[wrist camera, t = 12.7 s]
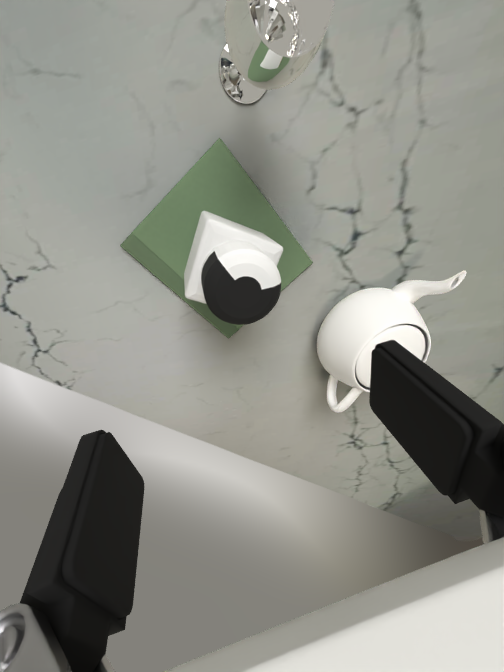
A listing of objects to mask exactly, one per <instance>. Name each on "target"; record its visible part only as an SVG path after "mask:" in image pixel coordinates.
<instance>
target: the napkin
mask: <svg viewBox="0 0 504 672" xmlns="http://www.w3.org/2000/svg"><path fill="white" fill-rule="evenodd" d="M202 211H207V212H210V213H212V214H215V215H217V216H220V217H223V218H225V219H228V220H230V221H233V222H235V223H238V224H241V225H243V226H246V227H248V228H251V229H253V230H256V231H259V232H261V233H263V234H265V235H266V236H268V237H269V238H271V239H272V240H274V241H275V242H276V243H278V244H279V245H281V246H282V247H283V252H282V255H281V257H280V259H279V262H278V264H277V269H278V271H279V274H280V277H281V291H282V290H283V289H284V288H285V287H286V286H287V285H288V284H289V283H291V282H292V281H293V280H294V279H295V278H296V277H297V276H298V275H300V274H301V273H302V272H303V271H304V270H305V269H306V268H307V267H308V266H310V265H311V264H312V263H313V262H312V261H311V259H310V258H309V257H308V255H307V254H306V253H305V251H304V250H303V249H302V247H301V246H300V245H299V243H298V242H297V241H296V239H295V238H294V237H293V235H292V234H291V233H290V231H289V230H288V229H287V227H286V226H285V225H284V223H283V222H282V221H281V219H280V218H279V216H278V215H277V214H276V212H275V211H274V210H273V208H272V207H271V206H270V204H269V203H268V202H267V200H266V199H265V198H264V196H263V195H262V194H261V192H260V191H259V190H258V188H257V187H256V186H255V184H254V183H253V182H252V180H251V179H250V178H249V176H248V175H247V174H246V172H245V171H244V170H243V168H242V167H241V166H240V164H239V163H238V161H237V160H236V159H235V157H234V156H233V155H232V153H231V152H230V151H229V149H228V148H227V147H226V145H225V144H224V143H223V141H222V140H221V139H220V138H219V139H218V140H217V141H216V142H215V143H214V144H213V146H212V147H211V148H210V149H209V150H208V151H207V152H206V153H205V154H204V155H203V156H202V157H201V159H200V160H199V161H198V162H197V163H196V164H195V165H194V166H193V167H192V168H191V169H190V170H189V172H188V173H187V174H186V175H185V176H184V177H183V178H182V179H181V180H180V181H179V182H178V183H177V185H176V186H175V187H174V188H173V189H172V190H171V191H170V192H169V193H168V194H167V195H166V196H165V198H164V199H163V200H162V201H161V202H160V203H159V204H158V205H157V206H156V207H155V208H154V209H153V211H152V212H151V213H150V214H149V215H148V216H147V217H146V218H145V219H144V220H143V221H142V222H141V224H140V225H139V226H138V227H137V228H136V229H135V230H134V231H133V232H132V233H131V234H130V235H129V237H128V238H127V239H126V240H125V241H124V242H123V243H122V244H121V245H120V246H121V247H122V248H123V249H125V250H126V251H127V252H128V253H129V254H130V255H132V256H133V257H134V258H135V259H136V260H137V261H139V262H140V263H141V264H142V265H143V266H144V267H146V268H147V269H148V270H149V271H150V272H151V273H153V274H154V275H155V276H156V277H157V278H158V279H160V280H161V281H162V282H163V283H164V284H165V285H167V286H168V287H169V288H170V289H171V290H172V291H174V292H175V293H176V294H177V295H178V296H179V297H181V298H182V299H183V300H184V301H185V302H186V303H188V304H189V305H190V306H191V307H192V308H193V309H195V310H196V311H197V312H198V313H199V314H200V315H202V316H203V317H204V318H205V319H206V320H207V321H209V322H210V323H211V324H212V325H213V326H214V327H216V328H217V329H218V330H219V331H220V332H221V333H223V334H224V335H225V336H226V337H227V338H230V337H231V336H232V335H233V334H234V333H236V332H237V331H238V330H239V328H240V327H242V326H243V325H236V324H230V323H227V322H224V321H222V320H221V319H219V318H218V317H216V316H215V315H214V314H213V313H212V312H211V310H210V309H209V308H208V306H207V304H205V303H201V302H198V301H194V300H190V299H187V298H186V297H185V285H184V272H185V268H186V265H187V261H188V258H189V254H190V251H191V247H192V243H193V240H194V236H195V233H196V229H197V226H198V222H199V219H200V215H201V212H202Z"/></svg>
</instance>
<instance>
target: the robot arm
mask: <svg viewBox="0 0 504 672" xmlns="http://www.w3.org/2000/svg"><path fill="white" fill-rule="evenodd" d="M370 406H371V409H372V410H373V412H374V413H375V414H376V415H377V417H378V418H379V419H380V420H381V422H382V423H383V424H384V425H385V426H386V428H387V429H388V430H389V431H390V432H391V434H392V435H393V436H394V437H395V439H396V440H397V441H398V442H399V443H400V445H401V446H402V447H403V448H404V449H405V451H406V452H407V453H408V454H409V456H410V457H411V458H412V459H413V460H414V462H415V463H416V464H417V465H418V466H419V468H420V469H421V470H422V471H423V472H424V474H425V475H426V476H427V477H428V479H429V480H430V481H431V482H432V483H433V485H434V486H435V487H436V488H437V489H438V491H439V492H440V493H442V494H443V495H448V496H449V497H450V499H451V500H452V501H453V502H454V503H455V504H457V503H459V502H462V501H465V500H467V499H471V500H472V502H473V503H474V504H475V505H476V506H477V507H478V508H479V514H480V522H481V530H482V539H483V545H481V546H478V547H476V548H473V549H470V550H468V551H465V552H462V553H459V554H457V555H454V556H452V557H449V558H447V559H444V560H442V561H439V562H437V563H434V564H432V565H429V566H427V567H424V568H421V569H419V570H417V571H414V572H411V573H409V574H406V575H404V576H401V577H398V578H396V579H393V580H391V581H388V582H386V583H383V584H381V585H378V586H376V587H373V588H371V589H368V590H366V591H363V592H361V593H358V594H356V595H353V596H350V597H348V598H345V599H343V600H340V601H338V602H335V603H333V604H330V605H328V606H326V607H323V608H320V609H318V610H315V611H313V612H310V613H308V614H306V615H303V616H300V617H298V618H296V619H293V620H290V621H288V622H285V623H283V624H280V625H278V626H276V627H273V628H270V629H268V630H266V631H263V632H261V633H258V634H255V635H253V636H251V637H248V638H246V639H243V640H241V641H238V642H236V643H233V644H231V645H228V646H226V647H224V648H221V649H218V650H216V651H213V652H211V653H209V654H206V655H204V656H201V657H199V658H196V659H194V660H191V661H189V662H186V663H184V664H181V665H179V666H176V667H174V668H171V669H169V670H167V671H164V672H504V424H502V422H501V421H499V420H498V419H497V418H495V417H494V416H493V415H492V414H490V413H489V412H488V411H486V410H485V409H484V408H482V407H481V406H480V405H478V404H477V403H476V402H475V401H473V400H472V399H471V398H469V397H468V396H467V395H465V394H464V393H463V392H462V391H460V390H459V389H458V388H456V387H455V386H454V385H452V384H451V383H450V382H449V381H447V380H446V379H445V378H443V377H442V376H441V375H439V374H438V373H437V372H436V371H434V370H433V369H432V368H430V367H429V366H428V365H426V364H425V363H424V362H423V361H421V360H420V359H419V358H417V357H416V356H415V355H413V354H412V353H411V352H410V351H408V350H407V349H406V348H404V347H403V346H402V345H400V344H399V343H398V342H396V341H395V340H389V341H386V342H382V343H379V344H377V345H376V346H375V349H374V350H372V353H371V377H370ZM143 496H144V481H143V478H142V476H141V475H140V474H139V472H138V471H137V469H136V468H135V467H134V465H133V464H132V462H131V461H130V459H129V458H128V457H127V455H126V454H125V452H124V451H123V450H122V448H121V447H120V445H119V444H118V442H117V441H116V439H115V438H114V437H113V435H112V434H111V433H110V432H108V433H106V432H105V431H103V430H99V431H96V432H93V433H89V434H86V435H83V436H82V437H81V439H80V441H79V444H78V447H77V450H76V452H75V455H74V458H73V461H72V464H71V467H70V469H69V472H68V475H67V478H66V480H65V483H64V486H63V488H62V490H61V492H60V494H59V496H58V499H57V502H56V504H55V507H54V510H53V513H52V515H51V518H50V521H49V524H48V526H47V529H46V532H45V535H44V538H43V540H42V544H41V546H40V549H39V551H38V554H37V557H36V560H35V563H34V565H33V568H32V571H31V574H30V577H29V579H28V582H27V585H26V587H25V590H24V593H23V596H22V599H21V601H20V603H18V604H14V605H10V606H8V607H6V608H5V609H3V610H1V611H0V672H115V671H114V669H113V667H112V665H111V663H110V662H109V660H108V658H107V657H106V655H105V652H106V646H107V639H108V636H109V635H112V634H115V633H117V632H120V631H122V630H125V624H126V616H127V615H129V614H130V612H131V610H132V606H133V598H134V587H135V577H136V567H137V557H138V547H139V536H140V526H141V517H142V506H143Z"/></svg>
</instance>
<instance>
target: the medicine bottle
mask: <svg viewBox="0 0 504 672" xmlns="http://www.w3.org/2000/svg"><path fill="white" fill-rule="evenodd" d="M282 252H283V247H282V246H281V245H279V244H278V243H276V242H275V241H274V240H272V239H271V238H269V237H268V236H266V235H265V234H263V233H261V232H259V231H256V230H253V229H251V228H248V227H246V226H243V225H241V224H238V223H235V222H233V221H230V220H228V219H225V218H223V217H220V216H217V215H215V214H212V213H210V212H207V211H202V212H201V215H200V219H199V222H198V226H197V229H196V233H195V236H194V240H193V243H192V247H191V251H190V254H189V258H188V261H187V265H186V268H185V272H184V285H185V297H186V298H187V299H190V300H194V301H198V302H201V303H205V304H207V306H208V308H209V309H210V310H211V312H212V313H213V314H214V315H215V316H216V317H218V318H219V319H221V320H222V321H224V322H227V323H230V324H236V325H244V324H250V323H253V322H256V321H258V320H260V319H262V318H263V317H265V316H266V315H267V314H268V313H269V312H270V311H271V310H272V309H273V308H274V306H275V304H276V303H277V301H278V298H279V296H280V292H281V277H280V274H279V271H278V269H277V264H278V262H279V259H280V257H281V255H282Z"/></svg>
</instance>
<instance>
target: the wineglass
mask: <svg viewBox="0 0 504 672" xmlns="http://www.w3.org/2000/svg"><path fill="white" fill-rule="evenodd" d="M333 7H334V0H226V6H225V17H224V21H225V38H226V45H225V46H224V48H223V50H222V53H221V56H220V62H219V74H220V78H221V82H222V84H223V87H224V89H225V90H226V92H227V94H228V95H229V96H230V97H231V98H232V99H234V100H235V101H237V102H239V103H242V104H250V103H253V102H256V101H257V100H259V99H260V98H261V97H262V95H263V94H264V93H265V91H266V90H274V89H279V88H282V87H285V86H287V85H289V84H290V83H292V82H293V81H294V80H296V79H297V78H298V77H299V76H300V75H301V74H302V73H303V72H304V71H305V69H306V68H307V67H308V65H309V64H310V62H311V61H312V59H313V58H314V56H315V54H316V53H317V51H318V49H319V47H320V45H321V42H322V40H323V38H324V35H325V33H326V30H327V28H328V25H329V23H330V20H331V16H332V12H333Z"/></svg>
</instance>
